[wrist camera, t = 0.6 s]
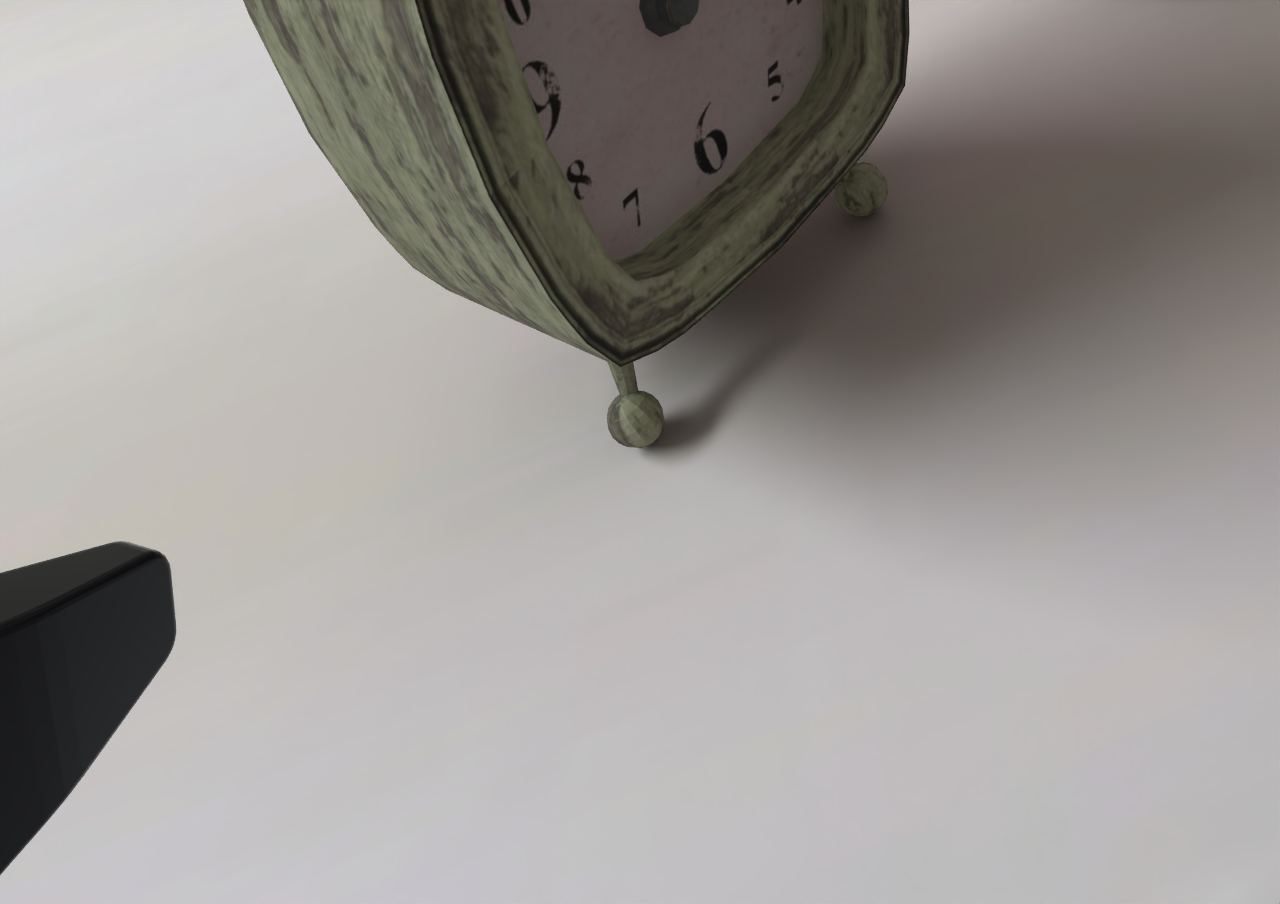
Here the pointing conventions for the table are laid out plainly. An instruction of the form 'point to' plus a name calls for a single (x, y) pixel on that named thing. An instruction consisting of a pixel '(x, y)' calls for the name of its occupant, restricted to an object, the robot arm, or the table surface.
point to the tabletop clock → (594, 147)
